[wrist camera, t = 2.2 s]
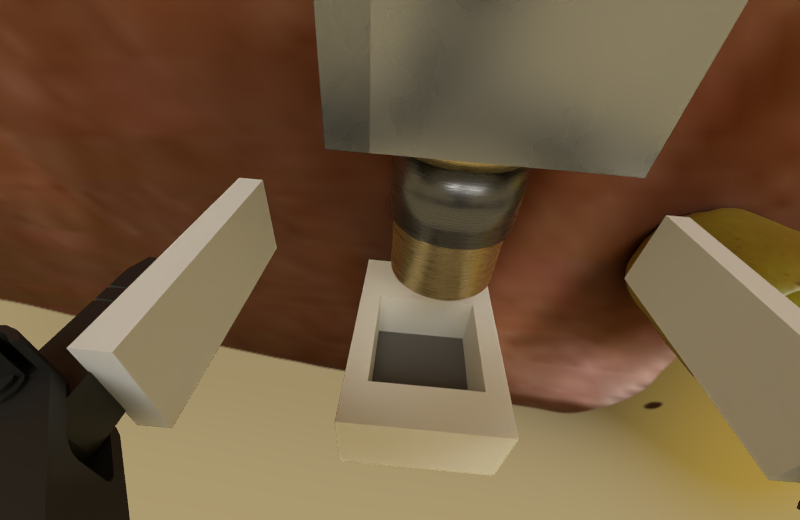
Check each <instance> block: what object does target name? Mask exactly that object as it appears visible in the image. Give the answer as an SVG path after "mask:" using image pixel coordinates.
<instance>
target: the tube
mask: <svg viewBox="0 0 800 520" xmlns="http://www.w3.org/2000/svg"><path fill="white" fill-rule="evenodd" d="M532 171H533V168H529V167H518V166H507V165H496V164H485V163H474V162H463V161H452V160H441V159H430V158H419V157H408V156H397V155H393V163H392V181H391V199H390V214H391V217H392V219H393V221H394V223H393V238H392V253H391V266H392V270H393V272H394V274H395V276H396V277H397V279H398V280H399V281H400V282H401V283H402V284H403V285H404V286H406V287H407V288H408V289H410V290H412V291H413V292H415V293H417V294H420V295H422V296H425V297H428V298H432V299H437V300H446V301H453V300H462V299H467V298H470V297H473V296H475V295H477V294H479V293H480V292H482V291H483V290H484V289H485V288H486V287H487V286H488V284H489V282H490V280H491V277H492V274H493V271H494V268H495V265H496V262H497V259H498V256H499V253H500V250H501V247H502V244H503V241H504V240H505V239H506V238H507V237H508V236H509V235H510V233H511V232H512V229H513V226H514V223H515V221H516V218H517V215H518V212H519V209H520V206H521V203H522V200H523V197H524V194H525V191H526V189H527V186H528V183H529V180H530V177H531V174H532Z"/></svg>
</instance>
